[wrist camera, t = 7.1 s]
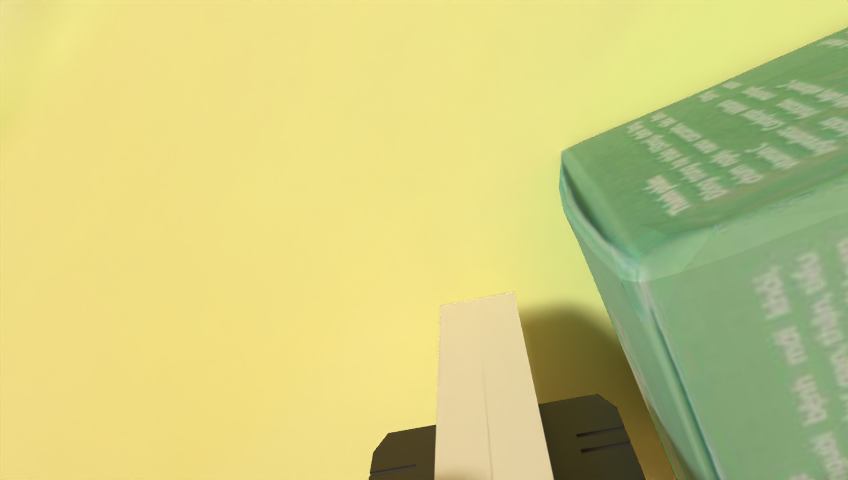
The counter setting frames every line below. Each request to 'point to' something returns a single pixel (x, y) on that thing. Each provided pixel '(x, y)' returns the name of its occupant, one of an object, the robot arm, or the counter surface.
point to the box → (731, 265)
